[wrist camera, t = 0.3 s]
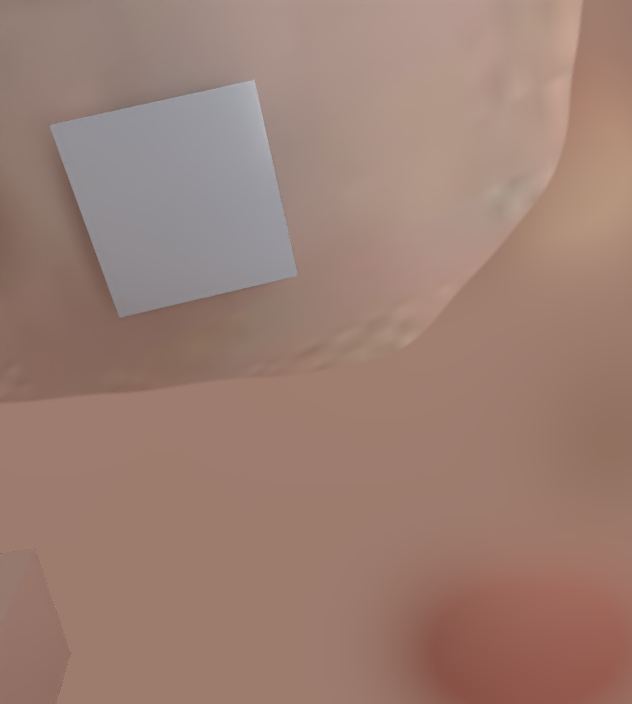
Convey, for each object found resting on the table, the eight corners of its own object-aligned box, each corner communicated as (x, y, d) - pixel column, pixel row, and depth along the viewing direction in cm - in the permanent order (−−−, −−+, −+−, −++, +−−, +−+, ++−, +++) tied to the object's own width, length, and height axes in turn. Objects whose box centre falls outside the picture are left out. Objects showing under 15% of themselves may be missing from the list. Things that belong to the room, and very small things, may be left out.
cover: (96, 120, 32) (49, 125, 24) (248, 86, 32) (254, 79, 24) (145, 269, 36) (119, 317, 27) (283, 237, 36) (298, 275, 28)
